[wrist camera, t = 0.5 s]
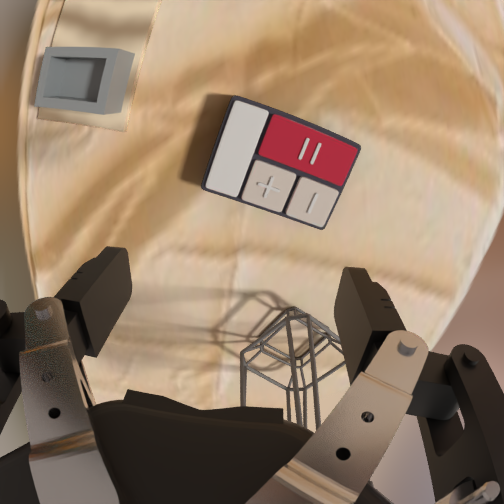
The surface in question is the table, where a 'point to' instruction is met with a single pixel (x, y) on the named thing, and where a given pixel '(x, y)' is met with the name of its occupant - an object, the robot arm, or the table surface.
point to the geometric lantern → (293, 365)
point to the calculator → (279, 163)
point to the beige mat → (105, 36)
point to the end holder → (84, 79)
